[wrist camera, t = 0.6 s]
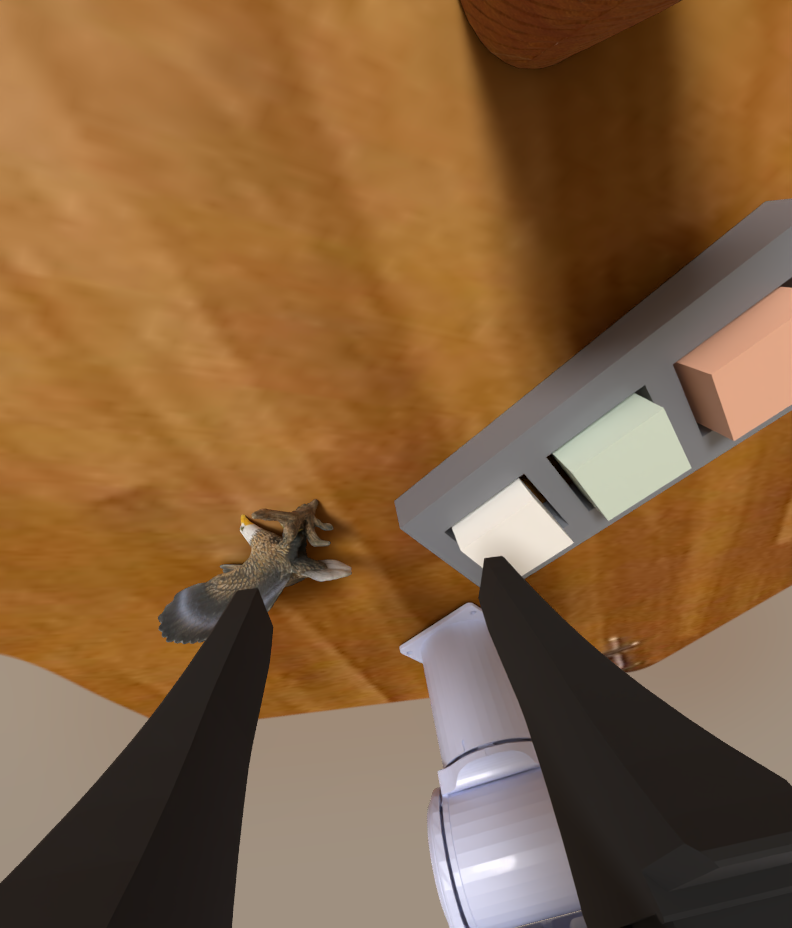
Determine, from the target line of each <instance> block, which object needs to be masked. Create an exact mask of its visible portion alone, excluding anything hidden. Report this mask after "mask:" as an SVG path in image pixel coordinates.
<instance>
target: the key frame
mask: <svg viewBox="0 0 792 928" xmlns="http://www.w3.org/2000/svg"><path fill="white" fill-rule="evenodd" d="M778 287H790V288H792V199H784V200H774V201H766V202H764V203H763V204H762V205H761V206H759V207H758V208H757V209H756V210H754V211H753V212H752V213H751V214H749V215H748V216H747V217H746V218H744V219H743V220H742V221H741V222H740V223H738V224H737V225H736V226H735V227H733V228H732V229H731V230H730V231H728V232H727V233H726V234H725V235H723V236H722V237H721V238H720V239H718V240H717V241H716V242H715V243H713V244H712V245H711V246H710V247H709V248H707V249H706V250H705V251H704V252H702V253H701V254H700V255H699V256H697V257H696V258H695V259H694V260H692V261H691V262H690V263H689V264H687V265H686V266H685V267H684V268H683V269H681V270H680V271H679V272H678V273H676V274H675V275H674V276H673V277H671V278H670V279H669V280H668V281H666V282H665V283H664V284H663V285H661V286H660V287H659V288H658V289H657V290H655V291H654V292H653V293H652V294H650V295H649V296H648V297H647V298H645V299H644V300H643V301H642V302H640V303H639V304H638V305H637V306H635V307H634V308H633V309H632V310H630V311H629V312H628V313H627V314H626V315H624V316H623V317H622V318H621V319H619V320H618V321H617V322H616V323H614V324H613V325H612V326H611V327H609V328H608V329H607V330H606V331H604V332H603V333H602V334H601V335H600V336H598V337H597V338H596V339H595V340H593V341H592V342H591V343H590V344H588V345H587V346H586V347H585V348H583V349H582V350H581V351H580V352H578V353H577V354H576V355H575V356H574V357H572V358H571V359H570V360H569V361H567V362H566V363H565V364H564V365H562V366H561V367H560V368H559V369H557V370H556V371H555V372H554V373H552V374H551V375H550V376H549V377H548V378H546V379H545V380H544V381H543V382H541V383H540V384H539V385H538V386H536V387H535V388H534V389H533V390H531V391H530V392H529V393H528V394H526V395H525V396H524V397H523V398H521V399H520V400H519V401H518V402H517V403H515V404H514V405H513V406H512V407H510V408H509V409H508V410H507V411H505V412H504V413H503V414H502V415H500V416H499V417H498V418H497V419H495V420H494V421H493V422H492V423H491V424H489V425H488V426H487V427H486V428H484V429H483V430H482V431H481V432H479V433H478V434H477V435H476V436H474V437H473V438H472V439H471V440H469V441H468V442H467V443H466V444H465V445H463V446H462V447H461V448H460V449H458V450H457V451H456V452H455V453H453V454H452V455H451V456H450V457H448V458H447V459H446V460H445V461H443V462H442V463H441V464H440V465H438V466H437V467H436V468H435V469H434V470H432V471H431V472H430V473H429V474H427V475H426V476H425V477H424V478H422V479H421V480H420V481H419V482H417V483H416V484H415V485H414V486H412V487H411V488H410V489H409V490H408V491H406V492H405V493H404V494H403V495H401V496H400V497H399V498H398V499H396V500H395V506H396V511H397V516H398V521H399V525H400V529H402V530H403V531H404V532H406V533H407V534H408V535H410V536H411V537H412V538H414V539H415V540H416V541H418V542H419V543H420V544H422V545H423V546H425V547H426V548H427V549H429V550H430V551H431V552H433V553H434V554H435V555H437V556H438V557H439V558H441V559H442V560H444V561H445V562H446V563H448V564H449V565H450V566H452V567H453V568H454V569H456V570H457V571H458V572H460V573H461V574H462V575H464V576H465V577H467V578H468V579H469V580H471V581H472V582H473V583H475V584H476V585H477V586H479V587H480V584H481V577H482V570H483V568H482V567H481V566H479V565H478V564H477V563H476V562H474V561H473V560H472V559H471V558H469V557H468V556H467V555H466V554H464V553H463V552H462V551H461V550H460V548H459V545H458V543H457V540H456V537H455V535H454V532H453V530H452V526H453V525H454V524H456V523H457V522H459V521H460V520H461V519H463V518H464V517H465V516H467V515H468V514H469V513H471V512H472V511H474V510H475V509H476V508H478V507H479V506H480V505H482V504H483V503H484V502H486V501H487V500H489V499H490V498H491V497H493V496H494V495H495V494H497V493H498V492H500V491H501V490H502V489H504V488H505V487H506V486H508V485H509V484H510V483H512V482H513V481H515V480H516V479H517V478H519V477H520V476H521V475H523V474H525V475H526V476H527V478H528V479H529V480H530V481H531V482H532V483H533V484H534V486H535V487H536V488H537V489H538V490H539V491H540V492H541V494H542V495H543V496H544V497H545V498H546V499H547V501H546V502H544V503H543V505H544V506H545V507H546V508H547V509H548V511H549V512H550V513H551V514H552V515H553V517H554V518H555V519H556V520H557V522H558V523H559V524H560V526H561V527H562V528H563V529H564V531H565V532H566V533H567V535H568V536H569V537H570V538H571V540H572V541H573V542H574V543H573V544H572V545H570V546H568V547H567V548H565V549H564V550H562V551H561V552H559V553H557V554H556V555H554V556H553V557H551V558H550V559H548V560H546V561H545V562H543V563H542V564H540V565H539V566H537V567H535V568H534V569H532V570H531V571H529V572H528V573H526V574H524V575H523V576H522V577H523V578H524V579H525V578H527V577H528V576H530V575H531V574H533V573H535V572H536V571H538V570H539V569H541V568H542V567H544V566H546V565H547V564H549V563H550V562H552V561H554V560H555V559H557V558H558V557H560V556H561V555H563V554H565V553H566V552H568V551H569V550H571V549H573V548H574V547H576V546H577V545H579V544H580V543H582V542H584V541H585V540H587V539H588V538H590V537H592V536H593V535H595V534H596V533H598V532H599V531H601V530H603V529H604V528H606V527H607V526H609V525H611V524H612V523H614V522H615V521H617V520H618V519H620V518H622V517H623V516H625V515H626V514H628V513H630V512H631V511H633V510H634V509H636V508H637V507H639V506H641V505H642V504H644V503H645V502H647V501H649V500H650V499H652V498H653V497H655V496H656V495H658V494H660V493H661V492H663V491H664V490H666V489H668V488H669V487H671V486H672V485H674V484H675V483H677V482H679V481H680V480H682V479H683V478H685V477H687V476H688V475H690V474H691V473H693V472H694V471H696V470H698V469H699V468H701V467H702V466H704V465H706V464H707V463H709V462H710V461H712V460H713V459H715V458H717V457H718V456H720V455H721V454H723V453H725V452H726V451H728V450H729V449H731V448H732V447H734V446H736V445H737V444H739V443H740V442H742V441H744V440H745V439H747V438H748V437H750V436H751V435H753V434H755V433H756V432H758V431H759V430H761V429H763V428H764V427H766V426H767V425H769V424H770V423H772V422H774V421H775V420H777V419H778V418H780V417H782V416H783V415H785V414H786V413H788V412H789V411H791V410H792V405H790V406H789V407H787V408H785V409H784V410H782V411H781V412H779V413H778V414H776V415H774V416H773V417H771V418H770V419H768V420H767V421H765V422H763V423H762V424H760V425H759V426H757V427H756V428H754V429H752V430H751V431H749V432H748V433H746V434H745V435H743V436H741V437H740V438H738V439H737V440H735V441H733V440H731V439H729V438H727V437H725V436H723V435H721V434H719V433H717V432H715V431H713V430H711V429H709V428H707V427H705V426H703V425H701V424H699V423H697V422H696V420H695V418H694V415H693V413H692V411H691V408H690V406H689V403H688V401H687V398H686V396H685V393H684V391H683V389H682V386H681V384H680V381H679V379H678V376H677V374H676V371H675V369H674V367H673V364H674V363H675V362H677V361H678V360H680V359H681V358H682V357H684V356H685V355H686V354H688V353H689V352H690V351H692V350H693V349H695V348H696V347H697V346H699V345H700V344H701V343H703V342H704V341H705V340H707V339H708V338H710V337H711V336H712V335H714V334H715V333H716V332H718V331H719V330H720V329H722V328H723V327H725V326H726V325H727V324H729V323H730V322H731V321H733V320H734V319H735V318H737V317H738V316H740V315H741V314H742V313H744V312H745V311H746V310H748V309H749V308H750V307H752V306H753V305H755V304H756V303H757V302H759V301H760V300H761V299H763V298H764V297H765V296H767V295H768V294H770V293H771V292H772V291H774V290H775V289H776V288H778ZM633 393H635V394H637V395H639V396H641V397H643V398H645V399H647V400H649V401H651V402H653V403H655V404H657V405H659V406H661V407H663V408H664V410H665V412H666V414H667V416H668V418H669V420H670V422H671V425H672V427H673V429H674V431H675V433H676V435H677V438H678V440H679V442H680V444H681V446H682V448H683V450H684V453H685V455H686V457H687V459H688V461H689V463H690V466H691V469H689V470H688V471H686V472H685V473H683V474H682V475H680V476H678V477H677V478H675V479H674V480H672V481H671V482H669V483H667V484H666V485H664V486H663V487H661V488H660V489H658V490H656V491H655V492H653V493H652V494H650V495H649V496H647V497H645V498H644V499H642V500H641V501H639V502H638V503H636V504H634V505H633V506H631V507H630V508H628V509H627V510H625V511H623V512H622V513H620V514H619V515H617V516H616V517H614V518H612V519H611V520H609V521H608V520H607V519H606V518H605V517H604V516H603V515H602V514H601V513H600V512H599V511H598V510H597V509H596V508H595V507H594V505H593V504H592V503H591V502H590V501H589V500H588V499H587V498H586V497H585V496H584V495H583V494H582V493H581V492H580V490H579V489H578V488H577V487H576V485H575V484H574V483H572V484H570V485H569V486H568V484H567V483H566V482H565V481H564V479H563V478H562V477H561V476H560V474H559V473H558V472H557V470H556V469H555V468H554V467H553V465H552V464H551V463H550V462H549V460H548V459H547V458H546V457H547V456H549V455H550V454H551V453H553V452H554V451H555V450H557V449H558V448H560V447H561V446H562V445H564V444H565V443H566V442H568V441H569V440H570V439H572V438H573V437H575V436H576V435H577V434H579V433H580V432H581V431H583V430H584V429H585V428H587V427H588V426H590V425H591V424H592V423H594V422H595V421H596V420H598V419H599V418H600V417H602V416H603V415H605V414H606V413H607V412H609V411H610V410H611V409H613V408H614V407H615V406H617V405H618V404H620V403H621V402H622V401H624V400H625V399H626V398H628V397H629V396H630V395H632V394H633Z"/></svg>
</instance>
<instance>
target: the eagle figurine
mask: <svg viewBox="0 0 792 928" xmlns="http://www.w3.org/2000/svg"><path fill="white" fill-rule="evenodd" d="M317 506H318V500H317V499H314V500H313V501H312V502H310V503H308V504H303V505H301V506H300V507H298V508H297V509H296V510H295V511H293V512H283V511H276V510H268V509H260V510H258V511H256V512H254V513H252V518H253V519H263V520H269V521H272V520H274V521H279V522H280V523H281V526H282V527H283V528H284V530H283V534H282V535H283V537H281V536H278V535H277V534H275V533H272V532H270V531H267V530H264V529H262V528H260V527H258V526H257V525H255V524H254V523H252V522H250V521H249V520H248V519H247V518H246V516H245V515H244V514H243V515H242V516H241V527H240V531H241V533H242V534H243V536H244V537H245V539H246V540H247V542H248V543H249V544H250V546H251V548H252V549H251V550H252V551H251V555H250V557H249V558H248V559H247V560H246V561H245V562H244V563H243V565H228V564H225V565H220V568H222V569H223V572H224V573H223V574H220V575H217V576H215V577H214V578H212V579H211V580H209V581H208V582H206V583H199V584H196V585H193V586H190V587H188V588H186V589H184V590H182V591H180V592H179V593H177V594H176V595H175V597H174V600H173V601H172V602H171V603H169V604H168V605H167V606H166V607H165V609H164V611H163V613H162V614H160V615H159V616H158V620H159V622H160V623H161V625H160V626H159V631H161V632H162V637H167V639H166V642H172V641H175V643H181V642H182V643H183V644H186V643H189V642H190V643H192V644H194V643H195V642H197V641H198V642H203V641H205V640H206V639H207V637H208V635H209V634H210V632H211V631H212V629H213V628H214V626H215V625H216V623H217V621H218V620H219V618H220V617H221V615H222V613H223V612H224V610H225V609H226V607H227V605H228V604H229V602H230V600H231V599H232V597H233V595H234V594H235V593H236V592H237V590H244V589H252V588H258V589H259V592H260V594H261V597H262V599H263V602H264V605H265V607H266V610H267V612H268V611H269V610H270V609H271V607H272V606H273V605H274V603H275V601H276V600H277V598H278V596H279V595H280V594H281V592H282V591H283V589H284V587H288V586H291V585H294V584H295V583H298V582H299V581H302V580H304V579H305V578H307V577H310V578H312V579H314V580H316V581H320V582H322V581H327V580H333V579H338V578H342V577H346V576H349V575H351V574H352V572H351V567H350V566H348V565H346V564H344V563H342V562H340V561H338V560H331V559H328V560H314V559H311V558H308V557H307V554H306V546H307V543H306V540H307V539H308V541H309V542H310V544H311V545H312V546H314V547H317V546H328V545H330V544H331V542H330V541H324V540H321V539H320V538H319V537H318V536H317V534H316V533H315V527H319V528H321V529H322V530H333V526H332V525H331V524H330V523H322V522H321V521H320V520H319V519H317V518H316V517H315V511H316V508H317Z"/></svg>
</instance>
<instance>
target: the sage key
mask: <svg viewBox="0 0 792 928" xmlns="http://www.w3.org/2000/svg"><path fill="white" fill-rule="evenodd" d="M551 454H552V455H553V457H554V458H555V459H556V461H557V462H558V463H559V465H560V466H561V467H562V468H563V470H564V471H565V472H566V474H567V475H568V476H569V477H570V479H571V480H572V481H573V483H574V484H575V485H576V487H577V488H578V489H579V490H580V492H581V493H582V494H583V495H584V496H585V497H586V498H587V499H588V500H589V501H590V502H591V503H592V504H593V505H594V507H595V508H596V509H597V510H598V511H599V512H600V513H601V514H602V515H603V516H604V517H605V518H606V519H607V520H608V521H609V520H611V519H612V518H614V517H616V516H617V515H619V514H620V513H622V512H623V511H625V510H627V509H628V508H630V507H631V506H633V505H634V504H636V503H638V502H639V501H641V500H642V499H644V498H645V497H647V496H649V495H650V494H652V493H653V492H655V491H656V490H658V489H660V488H661V487H663V486H664V485H666V484H667V483H669V482H671V481H672V480H674V479H675V478H677V477H678V476H680V475H682V474H683V473H685V472H686V471H688V470H689V469H691V466H690V463H689V461H688V459H687V457H686V455H685V453H684V450H683V448H682V446H681V444H680V442H679V440H678V438H677V435H676V433H675V431H674V429H673V427H672V425H671V422H670V420H669V418H668V416H667V414H666V412H665V410H664V408H663V407H661V406H659V405H657V404H655V403H653V402H651V401H649V400H647V399H645V398H643V397H641V396H639V395H637V394H635V393H633V394H632V395H630V396H629V397H628V398H626V399H625V400H624V401H622V402H621V403H620V404H618V405H617V406H615V407H614V408H613V409H611V410H610V411H609V412H607V413H606V414H605V415H603V416H602V417H600V418H599V419H598V420H596V421H595V422H594V423H592V424H591V425H590V426H588V427H587V428H585V429H584V430H583V431H581V432H580V433H579V434H577V435H576V436H575V437H573V438H572V439H570V440H569V441H568V442H566V443H565V444H564V445H562V446H561V447H560V448H558V449H557V450H555V451H554V452H553V453H551Z"/></svg>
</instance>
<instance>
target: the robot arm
mask: <svg viewBox="0 0 792 928" xmlns="http://www.w3.org/2000/svg"><path fill="white" fill-rule="evenodd" d="M479 602H480V605H481V608H482V609H481V608H479V607H478V606H477V605H475V604H474V603H466V604H464V605H463V606H461V607H460V608H458V609H457V610H455V611H453V612H452V613H450V614H449V615H447V616H446V617H444V618H443V619H441V620H439V621H438V622H436V623H435V624H433V625H432V626H430V627H429V628H427V629H425V630H424V631H422V632H421V633H419V634H418V635H416V636H415V637H413V638H412V639H410V640H408V641H407V642H405V643H404V644H402V645H401V646H400V652H401V653H402V654H404V655H406V656H408V657H410V658H412V659H414V660H417V661H419V662H421V663H423V666H424V671H425V676H426V681H427V686H428V691H429V696H430V701H431V707H432V712H433V717H434V722H435V727H436V732H437V737H438V743H439V747H440V753H441V758H442V763H443V768H444V769H441V770H439V771H438V777H439V782H440V787H439V788H436V789H434V791H433V793H432V796H431V800H430V803H429V806H428V813H427V828H428V841H429V849H430V856H431V862H432V868H433V873H434V878H435V883H436V887H437V891H438V894H439V898H440V902H441V905H442V908H443V911H444V914H445V916H446V919H447V921H448V924H449V927H450V928H514V927H518V926H522V925H526V924H530V923H534V922H537V921H541V920H545V919H549V918H553V917H556V916H560V915H564V914H568V913H572V912H575V913H572V914H568V915H564V916H560V917H556V918H553V919H549V920H545V921H542V922H538V923H534V924H530V925H526V926H522V927H518V928H792V786H791V785H790V784H789V783H788V782H787V780H785V779H783V778H782V777H780V776H779V775H777V774H775V773H774V772H772V771H770V770H769V769H767V768H765V767H764V766H762V765H761V764H759V763H757V762H756V761H754V760H752V759H751V758H749V757H747V756H746V755H744V754H742V753H741V752H739V751H738V750H736V749H734V748H733V747H731V746H729V745H728V744H726V743H725V742H723V741H721V740H720V739H718V738H717V737H715V736H714V735H712V734H711V733H709V732H708V731H706V730H704V729H703V728H702V727H700V726H699V725H697V724H696V723H694V722H692V721H691V720H689V719H688V718H687V717H685V716H684V715H682V714H681V713H680V712H678V711H677V710H676V709H674V708H673V707H671V706H670V705H668V704H667V703H666V702H664V701H663V700H662V699H660V698H659V697H657V696H656V695H655V694H653V693H652V692H650V691H649V690H648V689H646V688H645V687H643V686H642V685H641V684H639V683H638V682H637V681H636V680H634V679H633V678H632V677H630V676H629V675H628V674H627V673H625V672H624V671H623V670H621V669H620V668H619V667H618V666H616V665H615V664H614V663H613V662H612V661H610V660H609V659H608V658H607V657H605V656H604V655H603V654H602V653H601V652H599V651H598V650H597V649H596V648H595V647H594V646H593V645H591V644H590V643H589V642H588V641H587V640H586V639H585V638H583V637H582V636H581V635H580V634H579V633H578V632H577V631H576V630H575V629H574V628H572V627H571V626H570V625H569V624H568V623H567V622H566V621H565V620H564V619H563V618H562V617H561V616H560V615H559V614H558V613H557V612H556V611H555V610H554V609H553V608H552V607H551V606H550V605H549V604H548V603H547V602H546V601H545V600H544V599H543V598H542V597H541V596H540V595H539V594H538V593H537V592H536V591H535V590H534V589H533V588H532V587H531V586H530V585H529V584H528V583H527V582H526V581H525V579H524V578H523V577H522V576H521V575H520V574H519V573H518V572H517V571H516V570H515V569H514V567H513V566H512V565H511V564H510V563H509V562H508V561H507V560H506V559H505V558H504V557H503V556H497V557H489V558H484V563H483V570H482V577H481V584H480V591H479ZM272 634H273V625H272V623H271V620H270V618H269V615H268V612H267V610H266V607H265V605H264V602H263V599H262V597H261V594H260V592H259V589H258V588H252V589H244V590H237V592H236V593H235V594H234V595H233V597H232V599H231V600H230V602H229V604H228V605H227V607H226V609H225V610H224V612H223V613H222V615H221V617H220V618H219V620H218V621H217V623H216V625H215V626H214V628H213V629H212V631H211V632H210V634H209V635H208V637H207V639H206V640H205V642H204V643H203V645H202V646H201V647H200V649H199V650H198V652H197V653H196V655H195V656H194V658H193V659H192V661H191V662H190V664H189V665H188V667H187V668H186V670H185V671H184V672H183V674H182V675H181V677H180V678H179V679H178V681H177V682H176V683H175V685H174V686H173V688H172V689H171V690H170V692H169V693H168V694H167V696H166V697H165V699H164V700H163V701H162V703H161V704H160V705H159V707H158V708H157V709H156V710H155V712H154V713H153V714H152V716H151V717H150V718H149V719H148V721H147V722H146V723H145V725H144V726H143V727H142V729H141V730H140V731H139V732H138V733H137V735H136V736H135V737H134V738H133V739H132V741H131V742H130V743H129V744H128V745H127V747H126V748H125V749H124V750H123V751H122V753H121V754H120V755H119V756H118V757H117V758H116V760H115V761H114V762H113V763H112V764H111V765H110V767H109V768H108V769H107V770H106V771H105V772H104V773H103V775H102V776H101V777H100V778H99V779H98V781H97V782H96V783H95V784H94V785H93V786H92V787H91V788H90V789H89V791H88V792H87V793H86V794H85V795H84V796H83V797H82V798H81V799H80V801H79V802H78V803H77V804H76V805H75V806H74V807H73V808H72V809H71V810H70V811H69V812H68V813H67V815H66V816H65V817H64V818H63V819H62V820H61V821H60V822H59V823H58V824H57V825H56V826H55V827H54V828H53V829H52V830H51V831H50V832H49V834H47V836H46V837H45V838H44V839H43V840H42V841H41V842H40V843H39V844H38V845H37V846H36V847H35V848H34V849H33V850H32V851H31V852H30V853H29V854H28V856H27V857H26V858H25V859H24V860H23V861H22V862H21V863H20V864H19V865H18V866H17V867H16V868H15V869H14V870H13V871H12V872H11V873H10V874H9V875H8V876H7V877H6V878H5V879H4V880H3V881H2V882H1V883H0V928H232V918H233V905H234V896H235V884H236V874H237V863H238V853H239V844H240V835H241V826H242V817H243V808H244V800H245V792H246V784H247V776H248V768H249V762H250V756H251V751H252V745H253V740H254V735H255V731H256V726H257V721H258V717H259V712H260V707H261V702H262V698H263V693H264V688H265V683H266V678H267V674H268V669H269V663H270V655H271V646H272ZM579 910H581V911H579ZM576 911H579V912H576Z"/></svg>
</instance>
